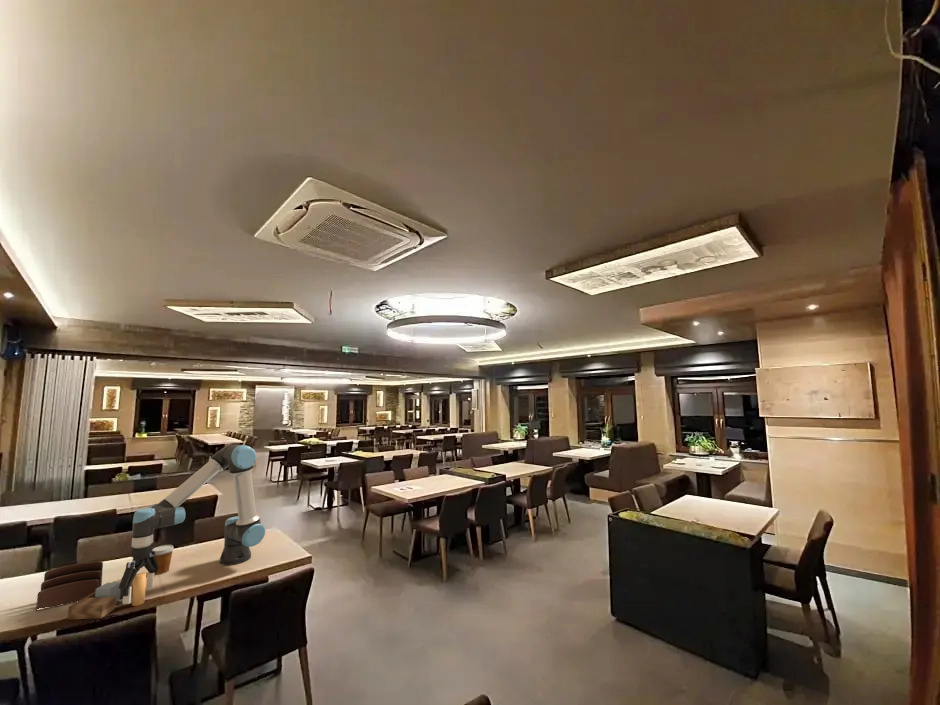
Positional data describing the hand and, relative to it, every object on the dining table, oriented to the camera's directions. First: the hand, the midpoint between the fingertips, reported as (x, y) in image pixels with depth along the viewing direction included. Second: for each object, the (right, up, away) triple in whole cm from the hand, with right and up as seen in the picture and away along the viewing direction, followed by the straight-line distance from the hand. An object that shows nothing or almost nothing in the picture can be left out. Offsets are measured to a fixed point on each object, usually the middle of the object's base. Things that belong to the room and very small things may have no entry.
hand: (138, 595), depth 179 cm
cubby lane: (-12, -3, -1) cm, 13 cm away
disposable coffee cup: (-14, -7, +32) cm, 35 cm away
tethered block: (-7, -3, -1) cm, 8 cm away
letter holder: (-34, -5, +4) cm, 35 cm away
